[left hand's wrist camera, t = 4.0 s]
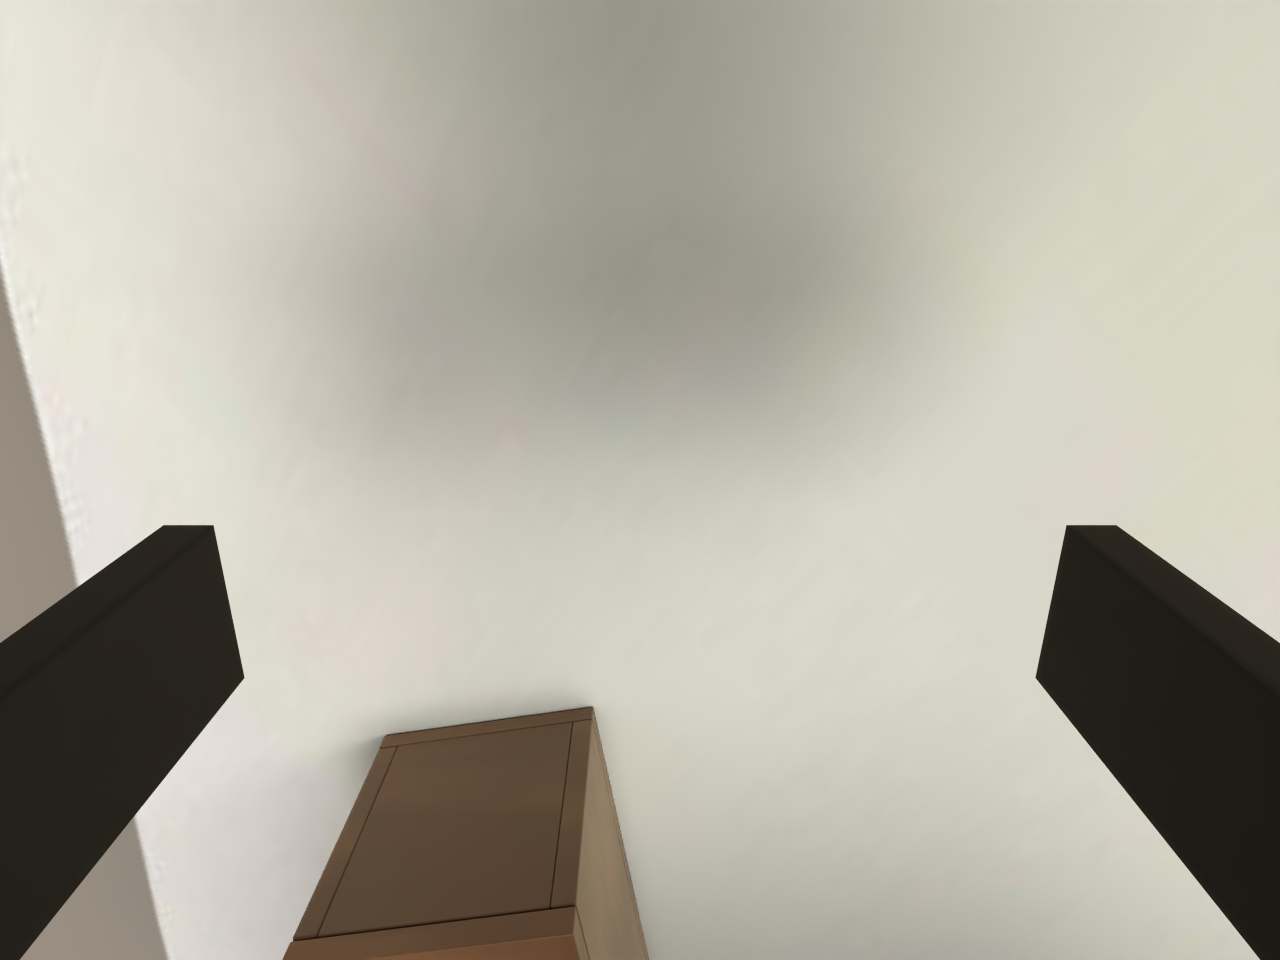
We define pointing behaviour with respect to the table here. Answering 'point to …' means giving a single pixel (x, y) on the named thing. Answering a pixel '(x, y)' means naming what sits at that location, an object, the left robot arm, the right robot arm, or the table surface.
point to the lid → (459, 940)
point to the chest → (483, 835)
